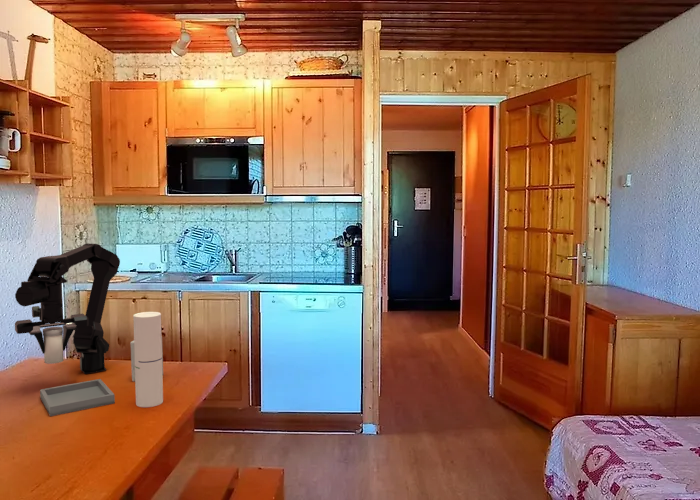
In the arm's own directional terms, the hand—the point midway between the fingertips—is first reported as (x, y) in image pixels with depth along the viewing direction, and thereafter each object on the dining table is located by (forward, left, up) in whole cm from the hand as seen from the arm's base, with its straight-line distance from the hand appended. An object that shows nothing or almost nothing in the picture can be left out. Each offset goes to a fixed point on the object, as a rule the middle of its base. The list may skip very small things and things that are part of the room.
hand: (53, 351), depth 166 cm
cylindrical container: (-19, +28, -11) cm, 36 cm away
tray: (-3, +15, -11) cm, 19 cm away
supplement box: (-25, +7, -11) cm, 28 cm away
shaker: (0, 0, -3) cm, 3 cm away
